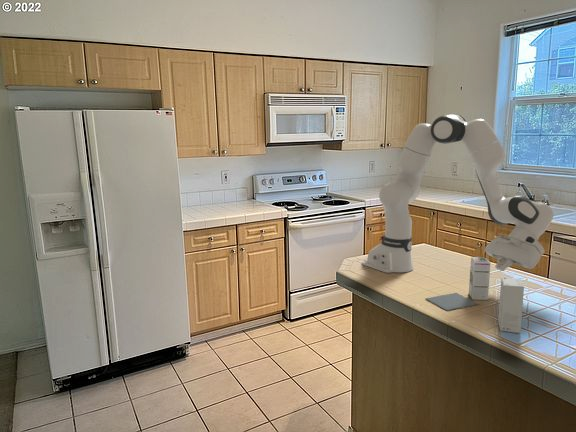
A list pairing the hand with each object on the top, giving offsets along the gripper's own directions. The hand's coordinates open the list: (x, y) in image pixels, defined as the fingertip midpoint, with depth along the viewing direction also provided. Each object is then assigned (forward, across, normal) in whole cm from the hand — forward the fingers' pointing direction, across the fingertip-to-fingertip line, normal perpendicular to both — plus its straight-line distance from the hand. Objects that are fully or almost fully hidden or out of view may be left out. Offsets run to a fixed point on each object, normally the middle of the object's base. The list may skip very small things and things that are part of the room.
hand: (498, 269), depth 161 cm
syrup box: (+13, 0, 0) cm, 13 cm away
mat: (+22, 0, -8) cm, 23 cm away
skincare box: (+20, +22, -6) cm, 30 cm away
